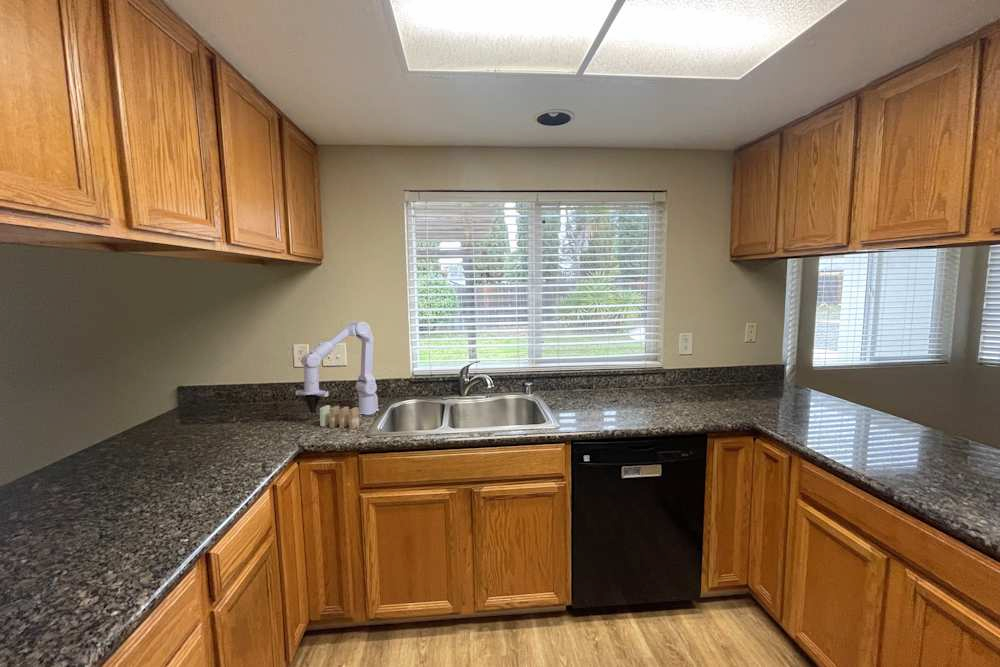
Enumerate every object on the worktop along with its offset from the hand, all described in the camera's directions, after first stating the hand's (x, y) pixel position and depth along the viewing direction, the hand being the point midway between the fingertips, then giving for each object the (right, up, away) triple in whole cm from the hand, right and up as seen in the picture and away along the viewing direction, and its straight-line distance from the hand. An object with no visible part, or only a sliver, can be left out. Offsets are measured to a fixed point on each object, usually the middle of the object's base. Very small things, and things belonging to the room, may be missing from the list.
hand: (312, 411), depth 181 cm
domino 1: (+6, -6, -1) cm, 8 cm away
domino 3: (+15, -6, -2) cm, 16 cm away
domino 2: (+10, -6, -1) cm, 12 cm away
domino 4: (+19, -6, -3) cm, 20 cm away
